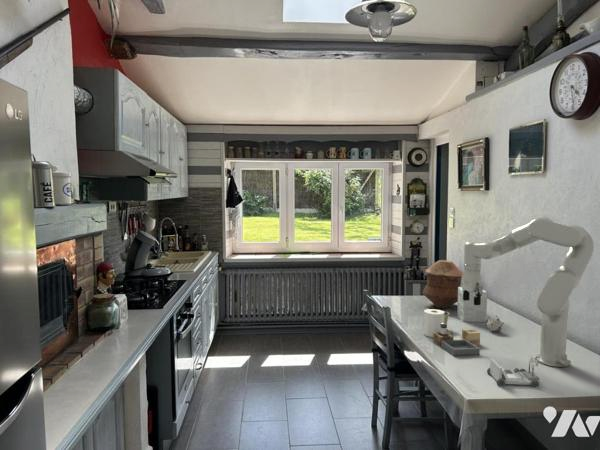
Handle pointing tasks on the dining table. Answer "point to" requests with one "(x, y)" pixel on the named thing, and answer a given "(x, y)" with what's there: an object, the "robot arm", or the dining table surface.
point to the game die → (494, 324)
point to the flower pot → (446, 316)
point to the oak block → (471, 336)
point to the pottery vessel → (443, 283)
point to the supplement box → (472, 307)
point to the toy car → (514, 374)
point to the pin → (443, 329)
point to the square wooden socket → (441, 338)
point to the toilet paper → (432, 321)
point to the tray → (460, 347)
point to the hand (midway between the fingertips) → (471, 302)
